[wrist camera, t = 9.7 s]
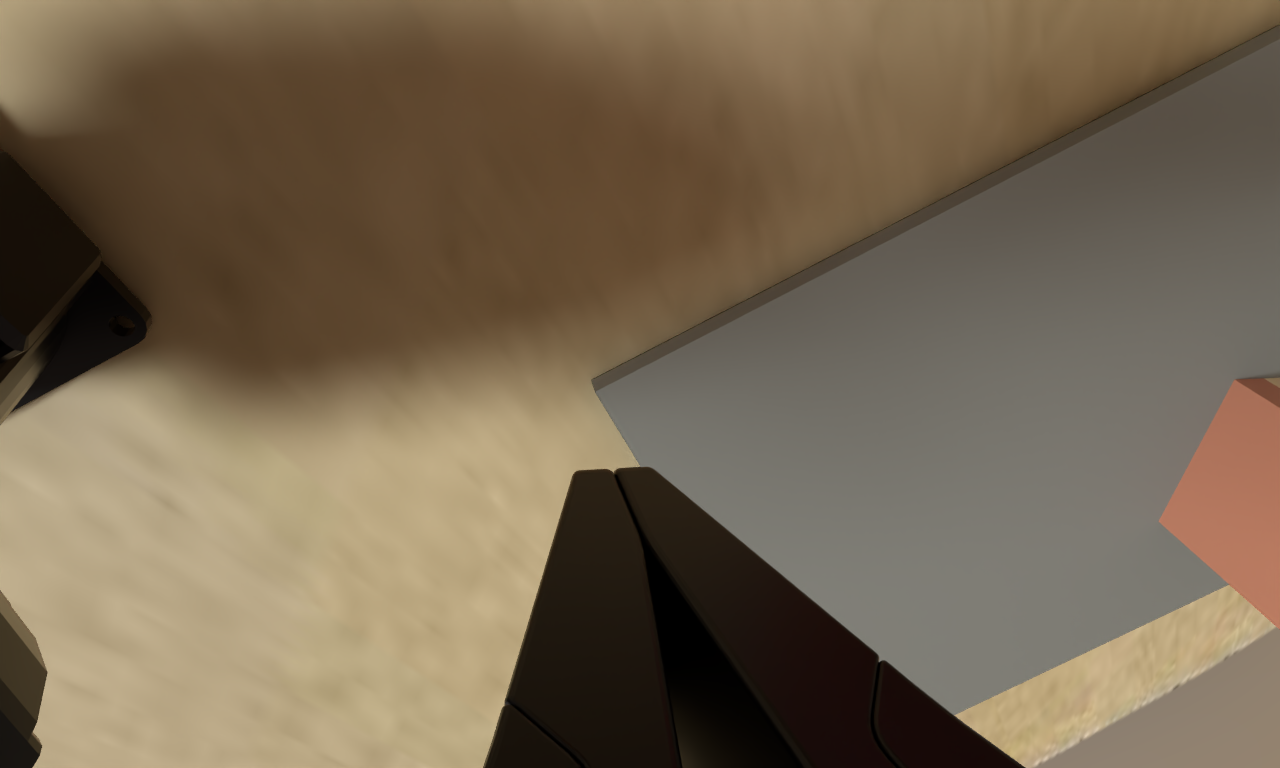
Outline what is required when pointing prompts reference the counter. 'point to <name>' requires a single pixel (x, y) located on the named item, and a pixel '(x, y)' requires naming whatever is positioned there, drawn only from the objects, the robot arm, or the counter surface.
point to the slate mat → (995, 390)
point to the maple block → (1236, 495)
